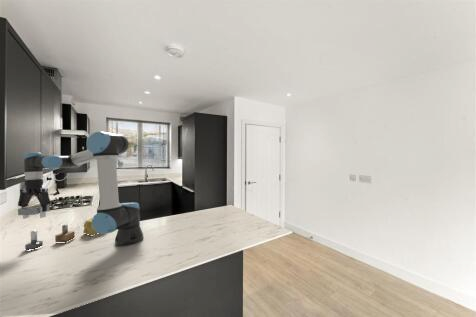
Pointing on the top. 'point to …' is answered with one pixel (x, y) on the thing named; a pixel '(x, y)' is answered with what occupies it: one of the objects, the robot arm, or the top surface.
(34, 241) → the hub
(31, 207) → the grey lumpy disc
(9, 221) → the top surface
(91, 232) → the cheese
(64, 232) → the stand
